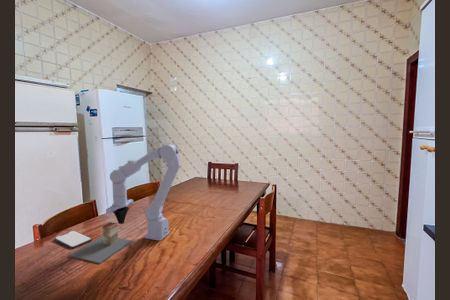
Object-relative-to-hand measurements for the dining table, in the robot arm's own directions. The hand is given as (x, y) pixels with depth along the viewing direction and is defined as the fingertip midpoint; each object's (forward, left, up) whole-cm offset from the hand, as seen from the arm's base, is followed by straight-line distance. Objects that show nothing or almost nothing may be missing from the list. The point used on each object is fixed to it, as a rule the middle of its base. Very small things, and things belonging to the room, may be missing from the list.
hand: (121, 223), depth 101 cm
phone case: (+18, +9, -7) cm, 22 cm away
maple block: (0, +6, -6) cm, 9 cm away
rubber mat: (0, +11, -6) cm, 13 cm away
